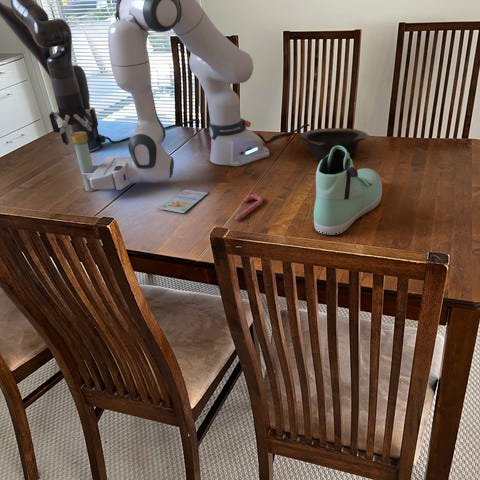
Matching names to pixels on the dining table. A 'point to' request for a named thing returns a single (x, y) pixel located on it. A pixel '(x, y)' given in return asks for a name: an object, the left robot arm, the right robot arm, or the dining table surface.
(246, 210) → the candy cane
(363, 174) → the sneaker
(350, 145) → the stone bowl
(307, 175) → the dining table surface
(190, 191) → the baking ingredient package
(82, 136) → the lid
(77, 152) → the mint green cylinder
